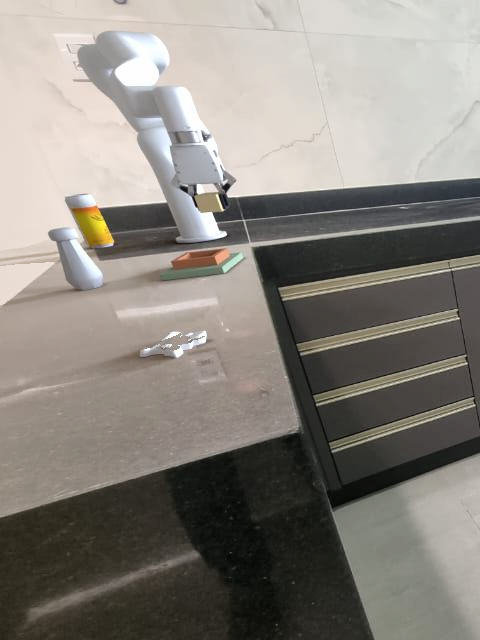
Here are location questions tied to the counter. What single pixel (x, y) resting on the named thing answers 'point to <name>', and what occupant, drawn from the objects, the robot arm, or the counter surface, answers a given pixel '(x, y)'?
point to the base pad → (201, 264)
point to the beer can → (89, 220)
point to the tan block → (209, 202)
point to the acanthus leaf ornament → (182, 347)
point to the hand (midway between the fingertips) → (214, 208)
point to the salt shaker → (75, 260)
